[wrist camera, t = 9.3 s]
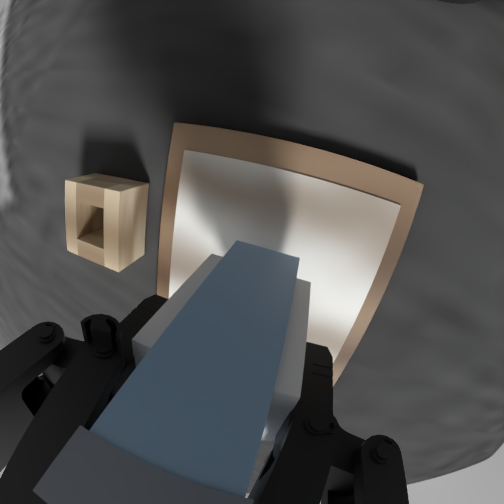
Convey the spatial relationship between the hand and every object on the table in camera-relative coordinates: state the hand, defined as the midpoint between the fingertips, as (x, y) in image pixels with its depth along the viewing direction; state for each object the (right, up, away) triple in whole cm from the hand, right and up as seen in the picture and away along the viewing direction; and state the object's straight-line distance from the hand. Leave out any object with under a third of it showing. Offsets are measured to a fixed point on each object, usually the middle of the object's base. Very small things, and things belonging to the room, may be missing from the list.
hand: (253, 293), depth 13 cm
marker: (+1, +1, +3) cm, 3 cm away
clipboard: (0, -2, +5) cm, 6 cm away
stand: (-9, +5, +5) cm, 11 cm away
